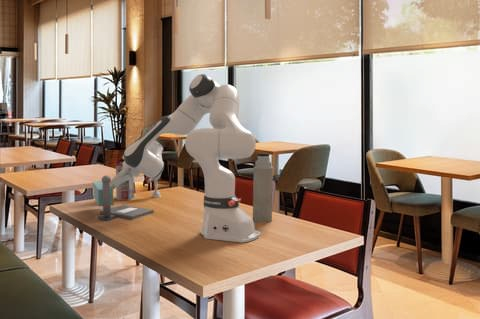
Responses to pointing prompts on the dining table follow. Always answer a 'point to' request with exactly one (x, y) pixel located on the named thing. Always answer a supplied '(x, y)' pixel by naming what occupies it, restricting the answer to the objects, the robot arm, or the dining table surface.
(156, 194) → the chalice
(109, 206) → the block
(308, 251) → the dining table surface
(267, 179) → the thermos bottle
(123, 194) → the white tall printed box
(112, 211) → the grey flat rectangular block
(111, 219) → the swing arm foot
